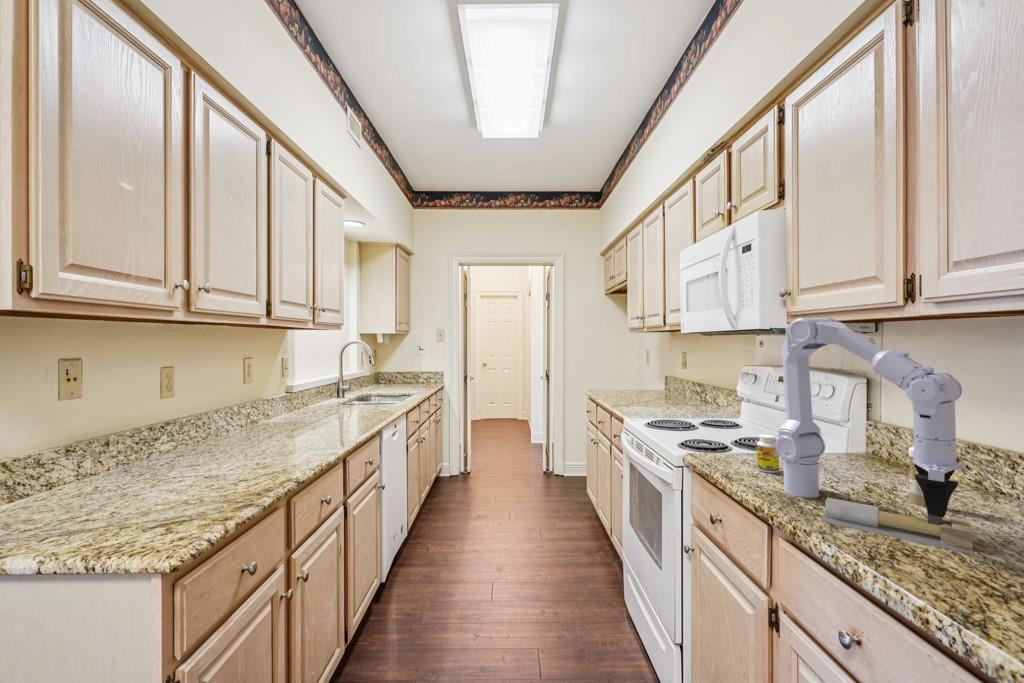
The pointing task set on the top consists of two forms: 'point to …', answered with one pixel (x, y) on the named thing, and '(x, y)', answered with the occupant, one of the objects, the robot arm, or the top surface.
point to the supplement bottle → (767, 454)
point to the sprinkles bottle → (915, 483)
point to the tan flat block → (912, 522)
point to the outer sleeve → (852, 512)
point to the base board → (898, 534)
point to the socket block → (957, 532)
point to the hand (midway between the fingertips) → (935, 509)
